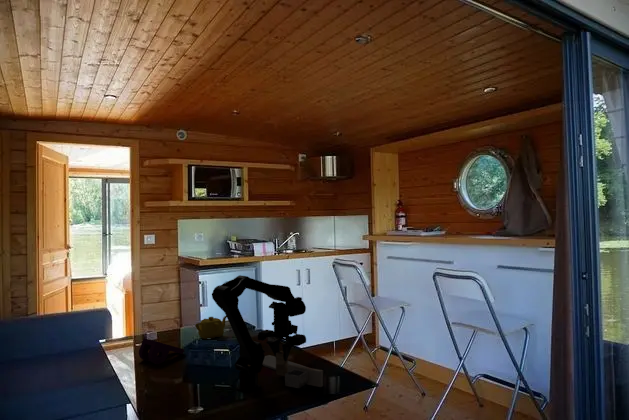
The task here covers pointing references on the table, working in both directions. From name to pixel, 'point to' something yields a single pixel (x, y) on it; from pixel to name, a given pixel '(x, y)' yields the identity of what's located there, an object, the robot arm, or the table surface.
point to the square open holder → (296, 378)
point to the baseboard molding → (271, 362)
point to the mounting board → (310, 375)
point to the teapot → (211, 327)
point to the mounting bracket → (156, 351)
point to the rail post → (281, 364)
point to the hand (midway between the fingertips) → (281, 360)
